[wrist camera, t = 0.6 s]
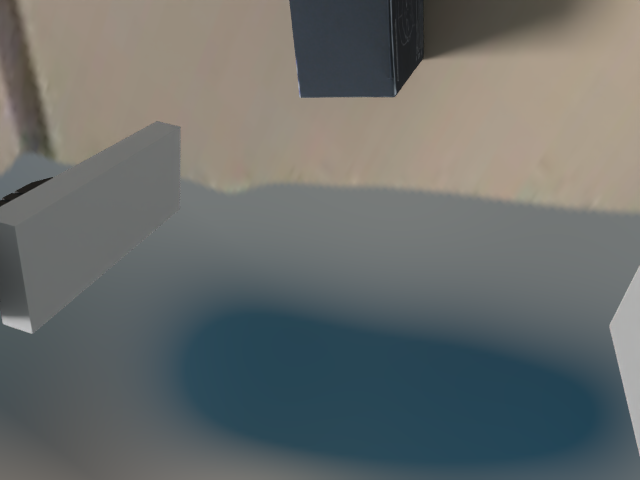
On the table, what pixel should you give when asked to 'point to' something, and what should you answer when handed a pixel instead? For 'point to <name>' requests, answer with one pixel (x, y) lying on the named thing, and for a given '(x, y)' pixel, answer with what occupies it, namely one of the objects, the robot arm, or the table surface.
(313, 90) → the box
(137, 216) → the robot arm
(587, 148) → the table surface
